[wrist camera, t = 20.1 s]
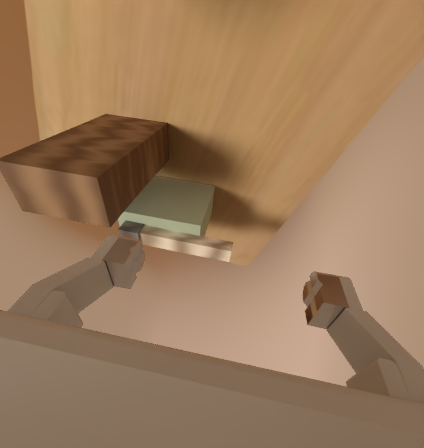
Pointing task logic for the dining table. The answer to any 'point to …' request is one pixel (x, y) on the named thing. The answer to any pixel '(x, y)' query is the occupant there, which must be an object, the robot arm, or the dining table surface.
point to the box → (172, 206)
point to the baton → (177, 241)
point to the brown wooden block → (88, 169)
